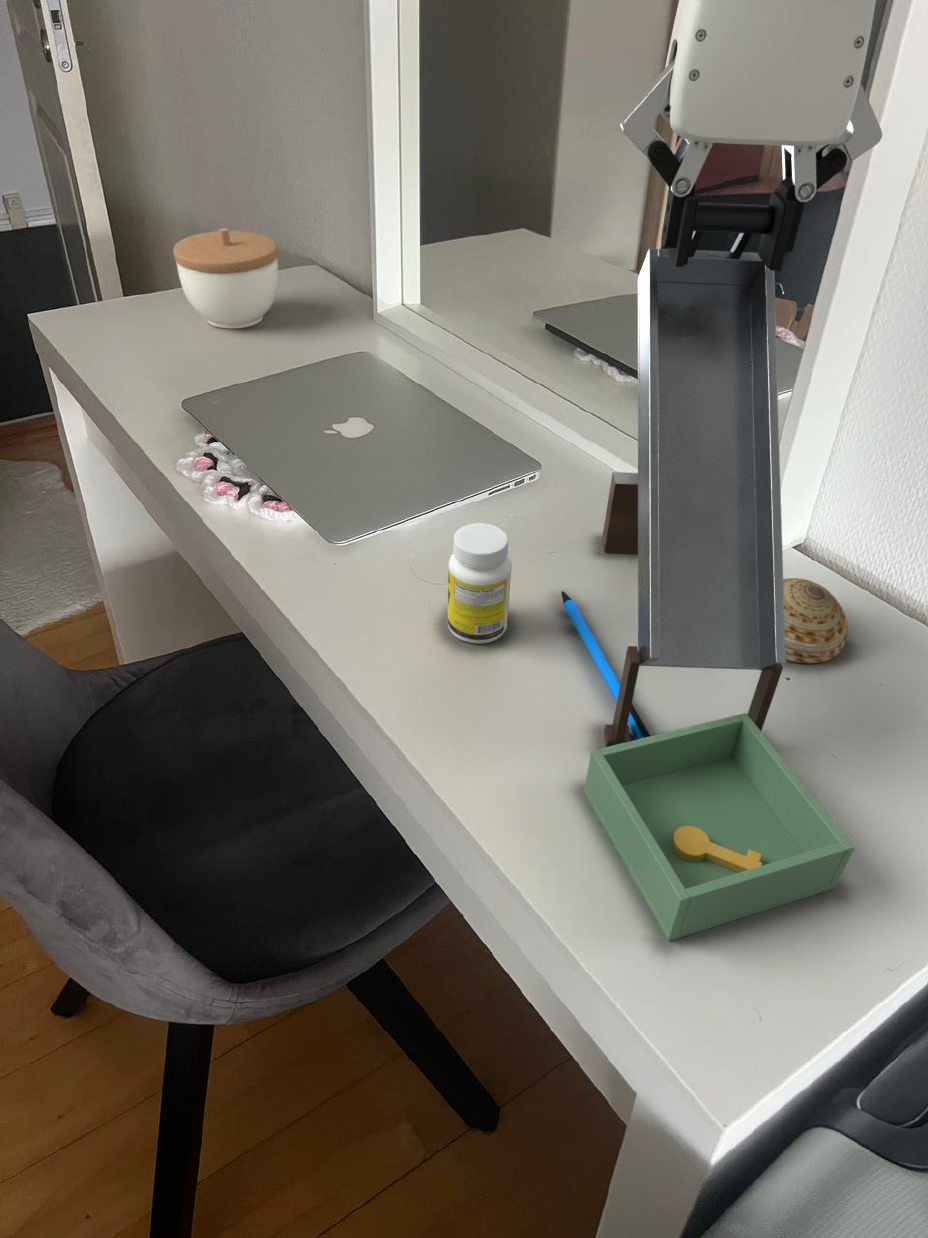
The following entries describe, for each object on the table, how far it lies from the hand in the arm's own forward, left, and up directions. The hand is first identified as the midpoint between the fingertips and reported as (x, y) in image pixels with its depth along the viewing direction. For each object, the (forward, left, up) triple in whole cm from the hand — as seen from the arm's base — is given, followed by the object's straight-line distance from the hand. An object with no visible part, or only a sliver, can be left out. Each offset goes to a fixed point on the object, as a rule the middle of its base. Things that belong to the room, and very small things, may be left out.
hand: (723, 258), depth 57 cm
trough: (+1, +4, -12) cm, 13 cm away
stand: (+1, +3, -28) cm, 28 cm away
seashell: (-9, +6, -28) cm, 30 cm away
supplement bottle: (+14, -2, -28) cm, 32 cm away
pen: (+7, +6, -28) cm, 29 cm away
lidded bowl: (+23, -70, -28) cm, 79 cm away
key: (+8, +23, -27) cm, 36 cm away
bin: (+8, +22, -28) cm, 36 cm away
